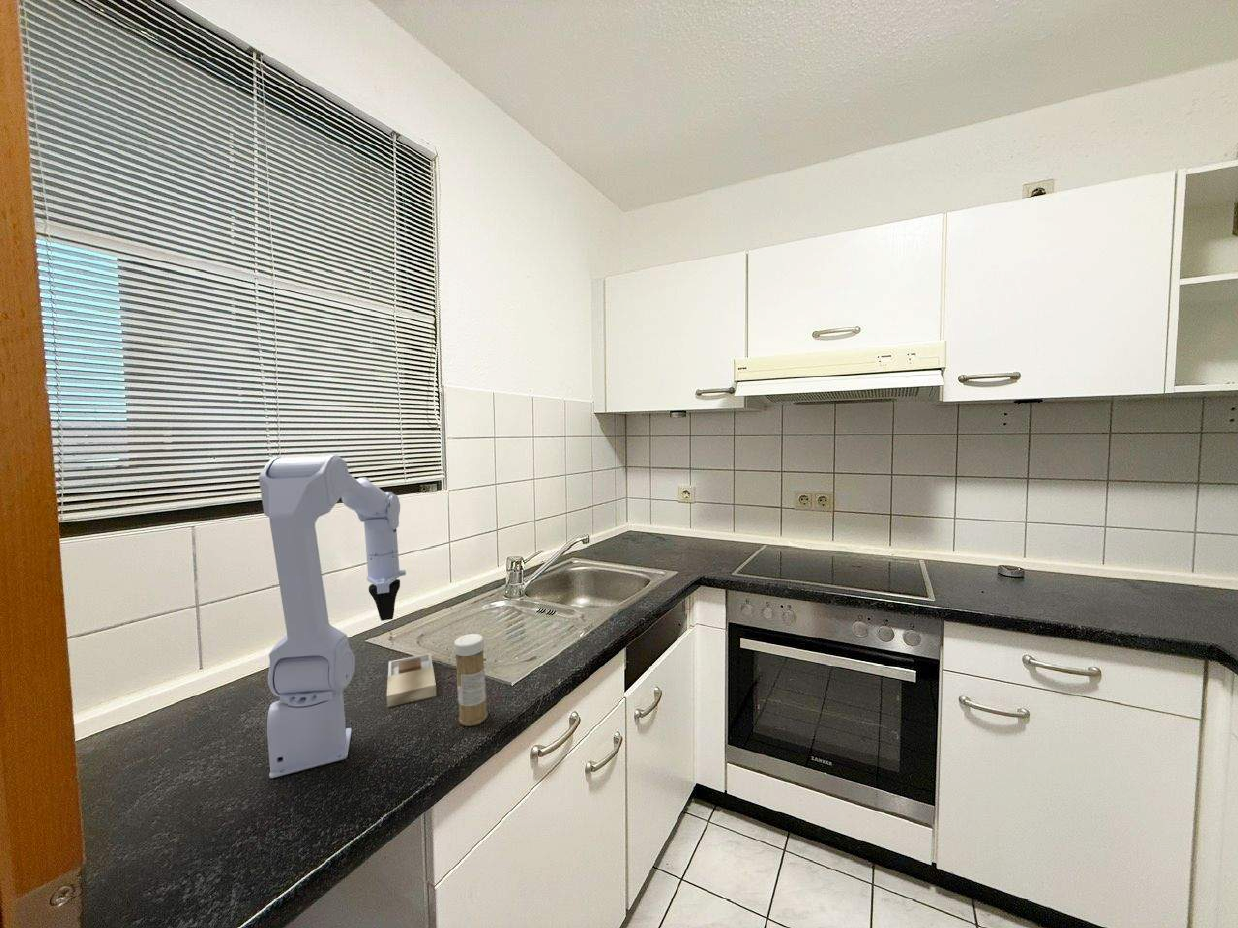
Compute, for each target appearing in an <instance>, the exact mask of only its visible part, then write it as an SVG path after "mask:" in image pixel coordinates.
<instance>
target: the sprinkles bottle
mask: <svg viewBox="0 0 1238 928" xmlns="http://www.w3.org/2000/svg"><path fill="white" fill-rule="evenodd" d="M453 647H454V648H453V649H454V654H455V661H456V683H457V684H456V685H457V687H456V688H457V701H458V702H457V703H458V709H459V710H458V712H459V716H458V718H459V719H458V721H459V723H460V724H461V725H463V726H468V727H469V726H476V725H479V724H481V723H483V722H484V721H485V720H486V719H487V718H488V711H487V700H486V699H487V688H486V671H485V663H484V661H485V660H484V648H485V644H484V637H483V636H482V635H481V634H478V633H471V634H466V635H465V634H464V635H461V636H459V637H458V638H456V639H455V640H454V642H453Z"/></svg>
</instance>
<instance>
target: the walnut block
mask: <svg viewBox="0 0 1238 928" xmlns="http://www.w3.org/2000/svg"><path fill="white" fill-rule="evenodd" d="M420 669H421V660H420V658H416V659H411V660H406V661H401V662H399V674H401V673H406V672H411V671H415V670H420Z"/></svg>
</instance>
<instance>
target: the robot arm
mask: <svg viewBox="0 0 1238 928" xmlns="http://www.w3.org/2000/svg"><path fill="white" fill-rule="evenodd" d="M264 465H265V466H264V467H263V469H262V471H261V472H260V473H259V476H258V481H259V482H258V483H259V488H260V493H261V494H260V495H261V500H262V507H263V513H264V516H265V517H267V518H269V525H270V533H271V539H272V545H273V551H274V552H273V553H274V559H275V564H276V566H275V567H276V571H277V577H278V584H279V591H280V598H281V605H282V609H283V610H282V611H283V616H284V624H285V631H286V635H284V637H282V638H281V639H280V640H279V641H278V642H277V643H276V644H275V645H274V646H273V647H272V649H271V650H270V652H269V653H268V658H269V665H268V666H269V669H268V673H267V684H268V687H269V690H270V693H272V695H274V696H276V697H279V700H276V701H273V702H271V703H270V706H269V708H268V711H267V719H266V720H267V721H266V737H267V751H268V759H269V771H270V772H269V774H268V777H269V779H274V778H279V777H282V776H285V775H289V774H293V773H297V772H300V771H305V770H308V769H312V768H315V767H316V768H317V767H321V766H324V765H326V764H327V765H328V764H331V763H334V762H337V761H343V760H346V758H348V755H349V751H350V750H349V749H350V743H351V738H352V731H353V729H352V727H347V728H346V715H345V714H346V713H345V702H344V690H346V688H347V687H348V686H349V684H350V683H351V681H352V679H353V677H354V673H355V669H356V660H355V654H354V652H353V651H352V649H351V646H350V643H349V639H348V635H347V634H346V633H344V632H343V631H341V630H339V629H338V628H336V627H335V626H333V625H331V624H330V623H329V622H330V621H329V616H328V615H329V614H328V609H327V608H328V607H327V600H326V593H325V586H324V579H323V573H322V564H321V558H320V549H319V543H318V535H317V530H316V523H317V521H318V519H319V518H320V517H322V516H325V515H326V514H329V513H330V512H331V511H332V509H333V508H334V507H335V505H336V504H337V503H338V502H339V500H340V499H341V501H342V503H343V504H344V506H345V507H347V508H348V509H349V510H350V509H351V510H352V511H354V512H355V513H356V514H357V515H356V516H357V518H358V520H359V522H361V523H362V522H363V527H364V538H365V539H364V540H365V552H366V564H367V565H366V567H367V575H366V581H368V582H369V583H371V584H370V585H369V586H368V593H369V595H370V596H371V597H372V598H373V600H374V602H375V605H376V608H377V612H378V615H379V618H380V620H381V622H383V621H390V620H393V618H394V613H395V603H396V599H397V594H398V592H399V590H400V587H401V579H400V577H402V576H406V575H407V572H406V571H407V570H406V569H402V570H401V569H400V562H399V561H400V559H399V546H398V545H399V544H398V543H399V542H398V530H397V529H398V528H399V526H400V525H399V524H400V520H399V518H400V513H401V503H400V499H399V497H398V495H397V494H396V493H395V494H394V492H392V491H384V490H382V489H381V488H380V487H378V486H376V485H375V484H374V483H372V482H371V481H370V479H369V478H368V477H358V478H355V477H354V476H353V475H352V474H350V472H349V467H348V463H347V460H346V459H343V458H342V457H341V456H340V455H338V454H333V455H328V456H326V455H325V456H310V457H309V456H305V457H283V458H282V457H272V458H271V459H269V460H268V461H267V462H266V464H264Z"/></svg>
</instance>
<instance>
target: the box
mask: <svg viewBox="0 0 1238 928" xmlns="http://www.w3.org/2000/svg"><path fill="white" fill-rule="evenodd" d="M416 658H420V660H421V669H425V668H429V667H433V668H434V665H433V659H432V654H431V652H429V653H422V654H418V655H414V656H408V657H405V658H400V659H394V660H388V664H387V665H388V667H387V668H388V669H387V677H388V676H392V675H396V674H399V662H401V661H406V660H411V659H416Z"/></svg>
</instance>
